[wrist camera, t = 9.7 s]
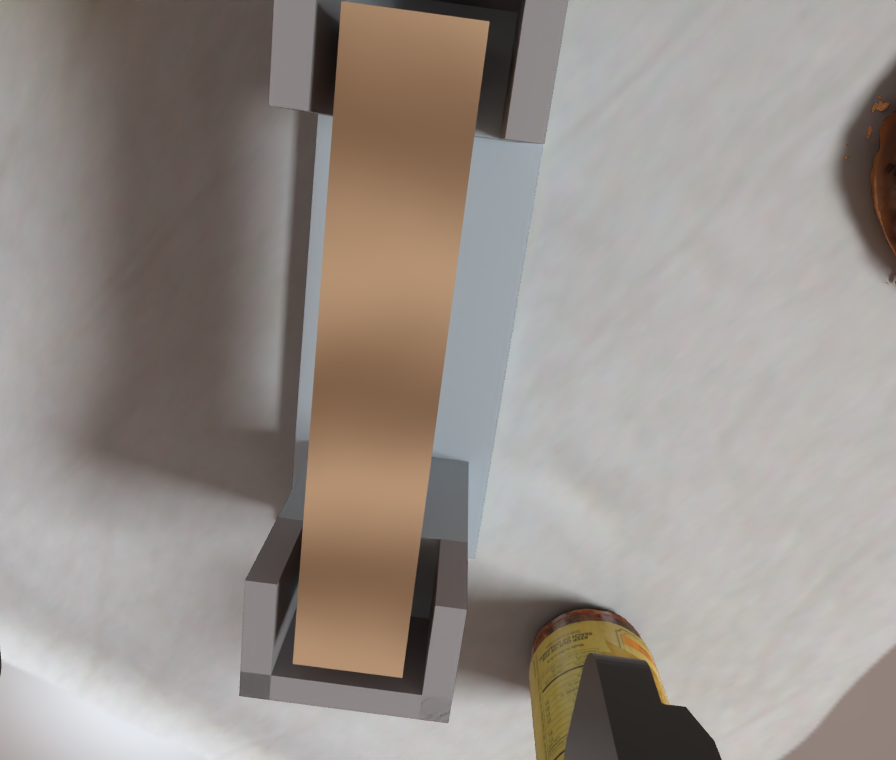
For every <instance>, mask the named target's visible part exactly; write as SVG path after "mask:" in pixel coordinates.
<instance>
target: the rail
mask: <svg viewBox="0 0 896 760" xmlns="http://www.w3.org/2000/svg"><path fill="white" fill-rule="evenodd" d="M489 23H490V21H483V20H476V19H468V18H461V17H454V16H447V15H439V14H432V13H425V12H417V11H410V10H403V9H396V8H388V7H381V6H374V5H367V4H359V3H352V2H345V1H341V14H340V28H339V41H338V55H337V69H336V82H335V96H334V109H333V123H332V137H331V150H330V164H329V177H328V191H327V205H326V218H325V232H324V246H323V259H322V273H321V286H320V300H319V314H318V327H317V341H316V354H315V368H314V382H313V395H312V409H311V422H310V436H309V450H308V463H307V477H306V491H305V504H304V518H303V531H302V545H301V559H300V572H299V586H298V599H297V613H296V627H295V640H294V654H293V664H297V665H305V666H313V667H321V668H328V669H336V670H344V671H352V672H360V673H367V674H375V675H383V676H391V677H399V678H402V676H403V669H404V661H405V654H406V646H407V639H408V631H409V624H410V616H411V609H412V601H413V594H414V586H415V579H416V571H417V564H418V556H419V549H420V541H421V534H422V526H423V519H424V511H425V504H426V496H427V489H428V481H429V473H430V466H431V458H432V451H433V443H434V436H435V428H436V421H437V413H438V406H439V398H440V391H441V383H442V376H443V368H444V361H445V353H446V346H447V338H448V331H449V323H450V316H451V308H452V301H453V293H454V286H455V278H456V271H457V263H458V256H459V248H460V241H461V233H462V225H463V218H464V210H465V203H466V195H467V188H468V180H469V173H470V165H471V158H472V150H473V143H474V135H475V128H476V120H477V113H478V105H479V98H480V90H481V83H482V75H483V68H484V60H485V53H486V45H487V38H488V30H489Z"/></svg>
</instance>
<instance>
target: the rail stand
mask: <svg viewBox="0 0 896 760" xmlns="http://www.w3.org/2000/svg"><path fill="white" fill-rule="evenodd" d="M341 1H345V2H352V3H359V4H367V5H374V6H381V7H388V8H396V9H403V10H410V11H417V12H425V13H432V14H439V15H447V16H454V17H461V18H468V19H476V20H483V21H490V23H489V30H488V38H487V45H486V53H485V60H484V68H483V75H482V83H481V90H480V98H479V105H478V113H477V120H476V128H475V135H474V143H473V150H472V158H471V165H470V173H469V180H468V188H467V195H466V203H465V210H464V218H463V225H462V233H461V241H460V248H459V256H458V263H457V271H456V278H455V286H454V293H453V301H452V308H451V316H450V323H449V331H448V338H447V346H446V353H445V361H444V368H443V376H442V383H441V391H440V398H439V406H438V413H437V421H436V428H435V436H434V443H433V451H432V458H431V466H430V473H429V481H428V489H427V496H426V504H425V511H424V519H423V526H422V534H421V541H420V549H419V556H418V564H417V571H416V579H415V586H414V594H413V601H412V609H411V616H410V624H409V631H408V639H407V646H406V654H405V661H404V669H403V676H402V678H399V677H391V676H383V675H375V674H367V673H360V672H352V671H344V670H336V669H328V668H321V667H313V666H305V665H297V664H293V654H294V640H295V627H296V613H297V599H298V586H299V572H300V559H301V545H302V531H303V518H304V504H305V491H306V477H307V463H308V450H309V436H310V422H311V409H312V395H313V382H314V368H315V354H316V341H317V327H318V314H319V300H320V286H321V273H322V259H323V246H324V232H325V218H326V205H327V191H328V177H329V164H330V150H331V137H332V123H333V109H334V96H335V82H336V69H337V55H338V41H339V28H340V14H341ZM567 5H568V0H274V10H273V30H272V50H271V71H270V91H269V106H275V107H280V108H286V109H292V110H297V111H303V112H309V113H315V114H318V123H317V137H316V152H315V166H314V180H313V194H312V208H311V223H310V237H309V251H308V265H307V279H306V294H305V308H304V322H303V336H302V350H301V365H300V379H299V393H298V407H297V421H296V436H295V450H294V464H293V478H292V491H291V493H290V495H289V497H288V499H287V500H286V502H285V504H284V506H283V508H282V510H281V512H280V514H279V516H278V518H277V520H276V522H275V524H274V526H273V528H272V529H271V531H270V533H269V535H268V537H267V539H266V541H265V543H264V545H263V547H262V549H261V551H260V553H259V555H258V556H257V558H256V560H255V562H254V564H253V566H252V568H251V570H250V572H249V574H248V576H247V578H246V580H245V593H244V613H243V633H242V653H241V673H240V693H239V696H244V697H251V698H259V699H267V700H274V701H282V702H289V703H297V704H305V705H312V706H320V707H328V708H335V709H343V710H351V711H358V712H366V713H374V714H381V715H389V716H397V717H404V718H412V719H420V720H427V721H435V722H443V723H448V722H449V716H450V710H451V704H452V698H453V692H454V686H455V680H456V673H457V667H458V661H459V655H460V649H461V643H462V637H463V631H464V625H465V619H466V613H467V573H468V558H472V559H475V555H476V549H477V543H478V537H479V531H480V525H481V519H482V512H483V506H484V500H485V494H486V488H487V482H488V476H489V470H490V464H491V458H492V452H493V446H494V440H495V434H496V428H497V422H498V416H499V410H500V404H501V398H502V392H503V386H504V380H505V374H506V368H507V362H508V356H509V349H510V343H511V337H512V331H513V325H514V319H515V313H516V307H517V301H518V295H519V289H520V283H521V277H522V271H523V265H524V259H525V253H526V247H527V241H528V235H529V229H530V223H531V217H532V211H533V205H534V199H535V193H536V187H537V180H538V174H539V168H540V162H541V156H542V150H543V144H544V143H545V137H546V131H547V125H548V119H549V113H550V107H551V101H552V95H553V89H554V83H555V77H556V71H557V65H558V59H559V53H560V47H561V41H562V35H563V29H564V23H565V17H566V11H567Z"/></svg>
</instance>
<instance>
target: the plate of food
mask: <svg viewBox="0 0 896 760" xmlns="http://www.w3.org/2000/svg"><path fill="white" fill-rule="evenodd" d="M878 98H879V99H881V98H882V97H881V96H880V95H879V96H878ZM889 105H890V104H889V102H886V103H882V100H880V101H879V104H878V103H877V102H876V103H874V106H873V107H872V113H873V112H874V111H875V110H879V111H884V110H886V109H887V108H888V107H889ZM870 134H872V127H871V126H869V127H868V136H866V138H867V139H869V136H870ZM879 139H880V148H879V151H878V153H877V154H876V155H875V158H874V164H873V168H872V171H871V174H870V179H871V189H872V196H873V204H874V211H875V212H876V214H877V215H878V218H879V221H880V223H881V226H882V229H883V231H884V234H885V237H886V240H887V242H888V244H889V245H890V246H891V248H892V250H893V252H894V256H895V257H896V111H895V112H893V113H892V114H890V115H889V116H888V117H887V118H886V119H885V120H884V122H883V123H882V125H881V128H880V131H879ZM846 145H847V144H846ZM847 158H849V156H847V157H845V158H844V159H847ZM848 163H849V162H848ZM886 283H887V282H886ZM895 283H896V282H895Z"/></svg>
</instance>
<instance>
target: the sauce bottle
mask: <svg viewBox="0 0 896 760" xmlns="http://www.w3.org/2000/svg"><path fill="white" fill-rule="evenodd" d="M589 653H596V654H603V655H611V656H618V657H626V658H633V659H641V660H645V661H646V662H647V663H648V664H649V666H650V669H651V672H652V675H653V678H654V681H655V684H656V687H657V690H658V693H659V696H660V699H661V703H662V704H667V705H670V704H669V701H668V699H667V696H666V693H665V690H664V687H663V684H662V682H661V679H660V676H659V673H658V670H657V668H656V665H655V662H654V659H653V656H652V654H651V652H650V650H649V649H648V647H647V646H646V644H645V643H644V642H643V640H642V639H641V637H640V635H639V633H638V632H637V631H636V630H635V629H634V627H633V626H632V625H631V624H630V623H629V622H628V621H627V620H626V619H625V618H622V617H621V616H620V615H617V614H615V613H612V612H611V611H600V610H597V609H588V608H585V609H578V610H573V611H570V612H567V613H564V614H561V615H560V616H559V617H556V619H554V620H551V621H549V623H548V624H546V625H545V626H544V627H542V628H541V629H540V631H539V632H538V634H537V636H536V639H535V641H534V644H533V646H532V652H531V660H530V663H531V664H530V669H529V685H530V694H531V705H532V717H533V728H534V739H535V749H536V759H537V760H564V754H565V746H566V740H567V736H568V731H569V727H570V723H571V718H572V714H573V709H574V705H575V701H576V696H577V692H578V688H579V683H580V679H581V675H582V670H583V666H584V662H585V660H586V657H587V655H588V654H589Z"/></svg>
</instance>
